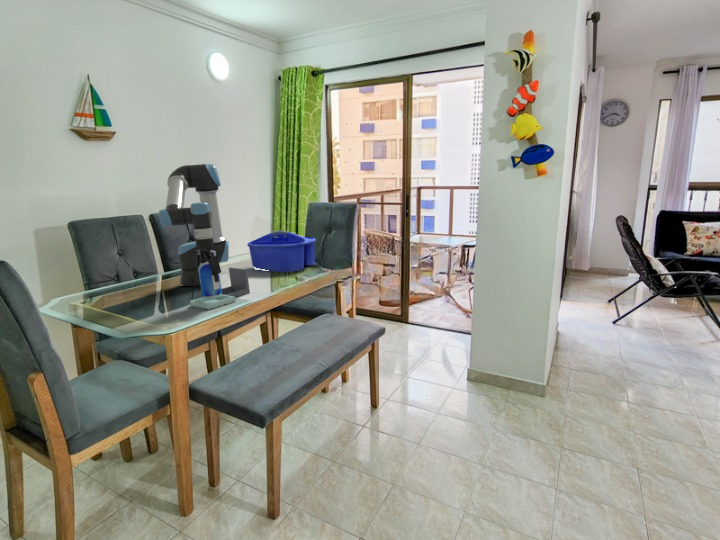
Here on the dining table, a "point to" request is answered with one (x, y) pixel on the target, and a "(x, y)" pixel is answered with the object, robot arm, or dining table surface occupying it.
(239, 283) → the bay
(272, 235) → the caddy
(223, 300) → the tray
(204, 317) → the dining table surface
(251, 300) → the dining table surface
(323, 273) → the dining table surface
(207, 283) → the beer can
